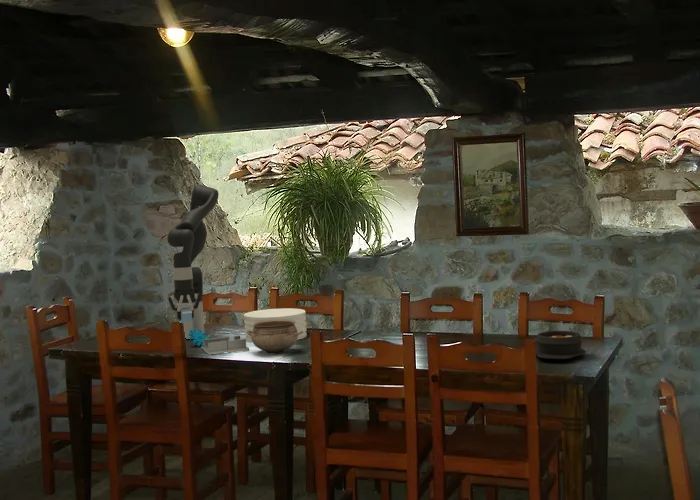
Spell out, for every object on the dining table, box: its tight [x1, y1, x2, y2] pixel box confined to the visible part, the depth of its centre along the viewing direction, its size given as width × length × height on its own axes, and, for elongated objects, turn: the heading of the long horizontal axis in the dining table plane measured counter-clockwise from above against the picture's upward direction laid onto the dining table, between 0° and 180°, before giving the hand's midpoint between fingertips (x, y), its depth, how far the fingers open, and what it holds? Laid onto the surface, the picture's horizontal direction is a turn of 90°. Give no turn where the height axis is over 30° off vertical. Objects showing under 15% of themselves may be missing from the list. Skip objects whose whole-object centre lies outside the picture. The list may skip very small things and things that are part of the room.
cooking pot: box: [246, 319, 303, 355], centre depth 315 cm, size 25×19×12 cm
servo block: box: [180, 306, 192, 323], centre depth 317 cm, size 11×4×5 cm, turn 21°
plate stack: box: [243, 307, 308, 343], centre depth 352 cm, size 28×28×12 cm
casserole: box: [534, 330, 587, 361], centre depth 280 cm, size 25×19×8 cm
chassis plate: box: [200, 335, 250, 355], centre depth 325 cm, size 16×17×5 cm
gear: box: [188, 328, 211, 347], centre depth 340 cm, size 11×6×10 cm
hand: (185, 319), depth 316 cm, fingers closed on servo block, 4 cm apart
